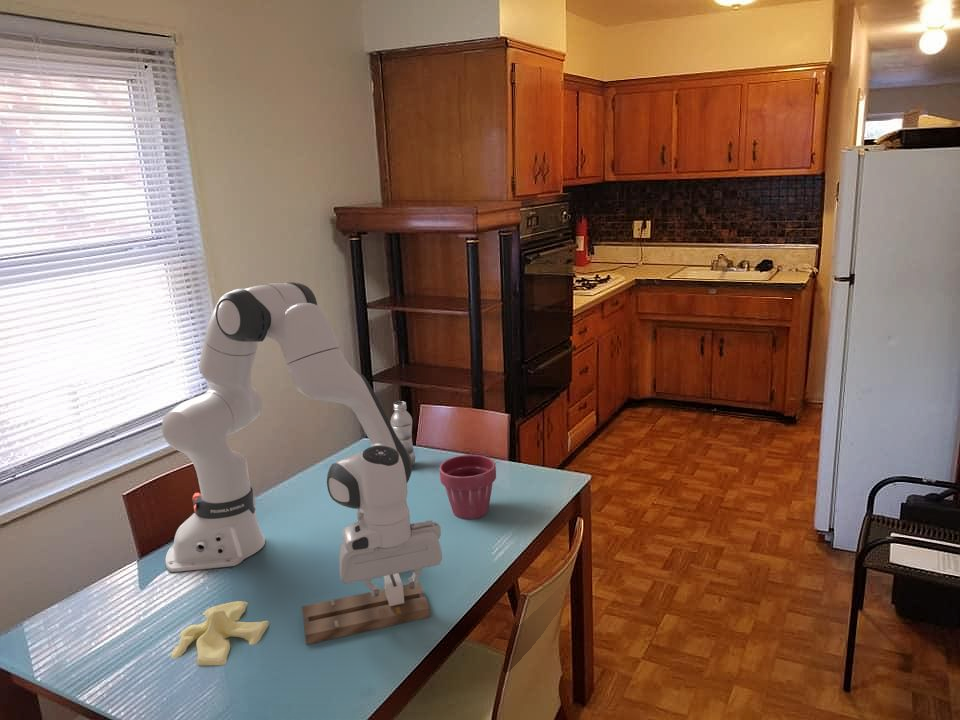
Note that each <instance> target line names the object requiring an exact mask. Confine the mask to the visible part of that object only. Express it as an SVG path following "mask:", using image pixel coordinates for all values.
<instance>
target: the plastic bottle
mask: <svg viewBox="0 0 960 720" xmlns="http://www.w3.org/2000/svg"><path fill="white" fill-rule="evenodd" d="M407 409H408V408H407V402H406V401H403V400H402V401H395V402H393V411H394V412H393V413H392V415H391V417H390V420H389V422H390V424H391V426H392V428H393V430H394V432H395V434H396V435H397V437H398V439H399V440H400V442H401V443H402V444H403V446H404V447H405V448H406V450H407V451H408V453H409V455H410V457H411V460H412V467H413V466H414V465H415V463H416V454H415V450H414V445H413V437H412V436H413V434H412V432H413V418H412V416H411V414H410V413H409V412H408V411H407Z"/></svg>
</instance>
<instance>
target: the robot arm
mask: <svg viewBox="0 0 960 720" xmlns="http://www.w3.org/2000/svg"><path fill="white" fill-rule="evenodd" d="M265 339H272V340H274V341H275V342H276V343H278V344H279V345H278V346H280V349H281V351H282V354H283V358H284V361H285V365H286V367H287V370H288V373H289V376H290V379H291V381H292V383H293V385H294V386H295V388H296V390H297V391H298V392H300V394H302V395H304V396H306V397H308V398H309V399H311V400H316V401H320V402H327V403H328V402H329V403H338V404H341V405H344V406H345V407H346V406H347V407H348V408H350V409H351V410H352V411H353V413H355V416H356V417H357V418H358V419H357V420H358V421H359V423H360V424H361V427H362V429H363V431H364V432H365V434H366V436H367V438H368V440H369V442H370V446H369V447H368V448H365V449H364V450H362V451H360V452H358V453H355V454H352V455H351V454H350V455H349V456H346V457H345V458H341V459H339V460H337V461H335V462H334V463H332V464H331V465H330V467H329V469H328V472H327V476H326V486H327V492H328V494H329V496H330V498H331V499H332V500H333V501H334V502H335V503H336V504H338V505H341V506H343V507H345V508H350V509H355V510H356V509H357V510H358V508H361V509H362V510H363V511H364V518H363V519H361V520H359V521H358V520H357V521H356V522H354V523H352V524H350V525H348V526H346V527H344V528H343V529H342V533H341V534H342V541H343V542H342V543H341V545H340V548H339V557H338V564H339V565H338V566H339V576H340V580H341V581H342V582H343V583H344V584H347V585H348V584H353V583H357V582H362V581H363V582H364V584H365V586H366V587H367V588H368V589H369V591H370V592H371V596H372V597H377V596H379V590H380V589H379V585H378V584H373V579H377V578H380V577H384V576H387V575H392V574H397V573H399V574H401V573H405V572H406V573H407V572H410V571H413V573H412V575H411V577H407V584H408V586H409V589H414V588H417V582H418V580H419V579H420V576H421V574H422V569H425V568H429V567H435V566H436V567H437V566H440V565H441V563H442V561H443V552H442V548H441V542H440V540H439V539H440V538H441V535H442V531H441V526H440V524H439V523H438V522H436V521H433V520H430V519H429V520H426V521H422V522H414V523H411V515H410V509H409V506H408V503H407V497H408V482H409V480H410V478H411V475H412V471H413V466H412V460H411V457H410V455H409V453H408V451H407V450H406V448H405V447H404V446H403V444H402V443H401V442H400V440H399V439H398V437H397V435H396V434H395V432H394V430H393V428H392V426H391V422H390V420H389V418H388V416H387V415H386V413H385V411H384V409H383V406H382V405H381V403H380V401H379V399H378V397H377V395H376V393H375V391H374V389H373V388H372V385H371V384H370V382H369V381H368V380H367V378H366V377H365V376H364V375H363V374H362V373H360V372H358V371H356V370H355V369H354V368H353V367H351V365H350V364H349V363H348V361H347V360H346V358H345V356H344V355H343V352H342V350H341V348H340V344H339V341H338V339H337V336H336V334H335V332H334V329H333V327H332V325H331V324H330V322H329V320H328V318H327V316H326V315H325V312H324V311H323V309H322V308H321V307H320V306H319V305H318V302H317V298H316V296H315V294H314V292H313V291H312V289H310V287H308V286H307V285H305V284H303V283H300V282H292V281H289V282H285V283H281V282H279V283H278V282H276V283H264V284H261V285H255V286H250V287H247V288H246V287H245V288H237V289H233V290H232V291H228V292H226V293H225V294H223V295H222V296H220V298H219V300H217V303H216V304H215V307H214V309H213V311H212V313H211V316H210V319H209V321H208V324H207V328H206V332H205V335H204V341H203V345H202V350H201V355H200V360H199V364H198V370H199V372H200V374H201V376H202V377H203V378H204V379H205V380H206V381H207V382H208V383H209V387H208V389H207V390H206V391H205V392H204V393H203V394H200V395H197V396H196V397H193V398H191V399H188V400H185V401H182V402H181V403H179V404H177V405H176V406H175V407H174V408H172V409H171V410H170V411H168V412H166V414H165V415H164V417H163V418H162V423H161V432H162V436H163V439H164V440H165V441H166V443H167V444H168V445H169V446H170V447H171V448H173V449H174V450H175V451H179V452H181V453H183V454H185V455H186V456H187V457H188V459H189V460H190V461H191V463H192V465H193V466H194V469H195V471H196V477H197V479H198V485H199V490H200V492H195V493H194V494H193V495H192V502H193V505H192V506H193V512H194V513H192V514H191V515H190V516H189V518H187V519H185V520H184V522H183V523H182V524H181V525H179V527H178V528H177V530H176V532H175V535H174V538H173V544H172V545H171V546H170V547H169V549H168V551H167V553H166V555H165V567H166V569H167V570H168V571H170V572H171V573H177V572H187V571H195V570H196V571H197V570H207V569H217V568H225V567H226V568H228V567H236V566H238V565H239V564H241V562H243V560H245V559H247V558H248V557H252V555H254V554H256V553H257V552H259V551H260V550H261V549H262V548H264V546H265V544H266V538H265V536H264V534H263V532H262V530H261V527H260V525H259V521H258V519H257V515H256V508H257V506H256V499H255V493H254V489H253V487H252V486H251V483H250V477H249V469H248V463H247V459H246V458H245V456H243V454H241V453H240V452H238V451H235V450H231V448H230V447H229V445H228V441H227V438H228V436H229V435H232V434H234V433H236V432H239V431H240V430H242V429H244V428H246V427H247V426H249V425H250V424H251V423H252V422H253V421H255V420H256V419H257V418H258V417H259V416H260V414H261V412H262V407H263V402H262V399H261V396H260V393H259V392H258V391H257V389H256V388H255V387H254V386H252V382H251V378H252V373H253V366H254V362H255V359H256V353H257V351H258V344H259V342H261V343H262V342H263V341H264V340H265Z"/></svg>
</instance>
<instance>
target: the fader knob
mask: <svg viewBox="0 0 960 720" xmlns="http://www.w3.org/2000/svg"><path fill="white" fill-rule="evenodd" d="M383 584H384V589H385V594H386V597H387V600H388V603H389V606H394V605H398V604H403V603H404V592H403V585H404V584H403V582H402V579H401V576H400V573H397V574H392V575H387V576H383Z"/></svg>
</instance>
